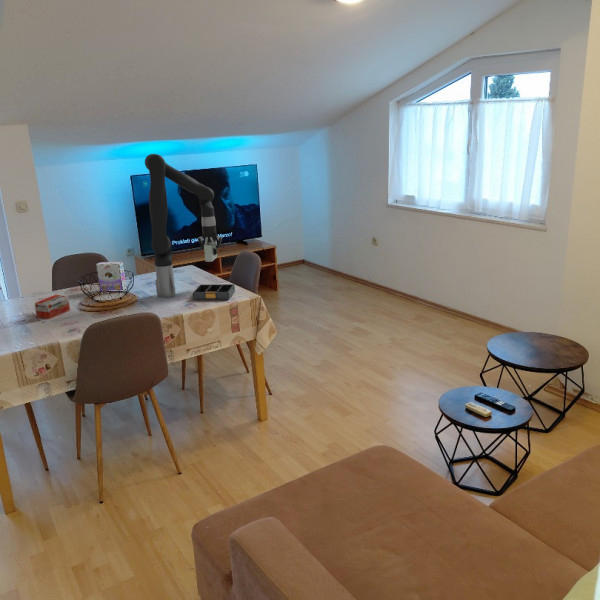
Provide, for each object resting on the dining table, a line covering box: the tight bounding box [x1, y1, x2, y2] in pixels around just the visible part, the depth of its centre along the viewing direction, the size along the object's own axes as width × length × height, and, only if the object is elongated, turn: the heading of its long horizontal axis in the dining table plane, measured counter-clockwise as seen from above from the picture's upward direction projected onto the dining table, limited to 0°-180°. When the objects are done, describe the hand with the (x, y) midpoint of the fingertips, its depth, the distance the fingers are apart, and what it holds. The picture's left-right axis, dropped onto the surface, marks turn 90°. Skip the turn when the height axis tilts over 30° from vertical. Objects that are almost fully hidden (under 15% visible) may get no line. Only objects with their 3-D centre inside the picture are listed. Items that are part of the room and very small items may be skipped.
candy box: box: [95, 261, 127, 292], centre depth 328 cm, size 14×6×16 cm, turn 84°
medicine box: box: [34, 294, 71, 320], centre depth 293 cm, size 15×8×8 cm, turn 159°
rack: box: [192, 283, 236, 301], centre depth 312 cm, size 19×16×4 cm
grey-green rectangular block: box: [203, 241, 218, 263], centre depth 322 cm, size 4×12×9 cm, turn 174°
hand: (211, 254), depth 322 cm, fingers closed on grey-green rectangular block, 4 cm apart
